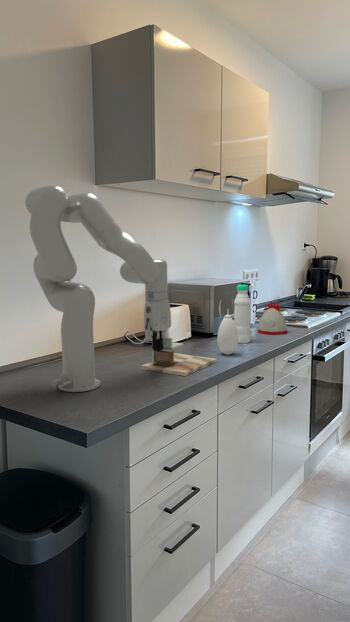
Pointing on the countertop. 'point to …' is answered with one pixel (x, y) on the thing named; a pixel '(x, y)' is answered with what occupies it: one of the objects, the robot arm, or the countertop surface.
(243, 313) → the water bottle
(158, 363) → the walnut block
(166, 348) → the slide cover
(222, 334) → the sauce bottle
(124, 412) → the countertop surface
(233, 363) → the countertop surface
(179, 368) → the puzzle board
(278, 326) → the kitchen timer
